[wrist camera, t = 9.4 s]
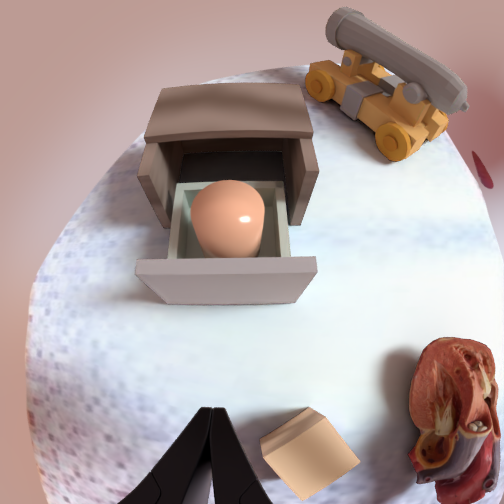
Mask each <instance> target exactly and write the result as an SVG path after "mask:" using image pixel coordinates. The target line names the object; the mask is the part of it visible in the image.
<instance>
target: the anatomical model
mask: <svg viewBox="0 0 504 504" xmlns="http://www.w3.org/2000/svg"><path fill="white" fill-rule="evenodd" d="M494 377H495V363H494V358H493V355H492V353H491V350H490V349H489V348H488V347H487V346H486V345H485V344H483V343H480V342H477V341H474V340H471V339H461V338H456V337H443V338H438V339H436V340H434V341H432V342H431V343H430V344H428V345H427V346H426V347H425V348H424V350H423V352H422V354H421V356H420V358H419V361H418V363H417V366H416V370H415V372H414V375H413V378H412V381H411V387H410V392H409V411H410V416H411V418H412V420H413V422H414V424H415V425H416V426H417V427H418V428H419V429H420V433H421V435H420V437H419V438H418V441H417V443H416V445H415V447H414V448H413V449H412V450H411V451H410V452H409V453H408V456H409V458H410V460H411V462H412V464H413V467H414V470H415V471H416V472H417V481H416V483H417V484H425V483H429V482H433V481H435V483H436V484H435V489H436V493H437V500H438V501H439V502H440V503H441V504H471V503H474V502H476V501H478V500H480V499H482V498H483V497H484V496H485V493H486V492H491V491H492V490H494V489H495V488H496V486H497V480H498V476H499V470H500V438H501V433H500V427H499V421H498V417H497V412H496V405H497V399H498V385H497V383H496V381H495V378H494Z"/></svg>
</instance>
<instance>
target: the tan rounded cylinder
mask: <svg viewBox="0 0 504 504" xmlns="http://www.w3.org/2000/svg"><path fill="white" fill-rule="evenodd" d="M264 213H265V208H264V203H263V200H262V198H261V196H260V194H259V193H258V192H257V191H256V190H255V189H254V188H253V187H251V186H250V185H248V184H246V183H243V182H240V181H236V180H222V181H218V182H214V183H212V184H210V185H208V186H206V187H205V188H203V189H202V190H201V191H200V192H199V193H198V194H197V195H196V197H195V198H194V200H193V202H192V205H191V210H190V215H191V220H192V224H193V226H194V229H195V232H196V235H197V238H198V241H199V244H200V247H201V249H202V252H203V255H204V257H205V258H258V256H259V253H260V247H261V239H262V230H263V222H264Z"/></svg>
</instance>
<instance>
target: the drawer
mask: <svg viewBox="0 0 504 504" xmlns="http://www.w3.org/2000/svg"><path fill="white" fill-rule="evenodd" d="M240 182H243V183H246V184H248V185H250V186H251V187H253V188H254V189H255V190H256V191H257V192H258V193H259V194H260V196H261V198H262V200H263V203H264V208H265V213H264V222H263V230H262V239H261V247H260V253H259V256H258V258H205V257H204V255H203V252H202V249H201V247H200V244H199V241H198V238H197V235H196V232H195V229H194V226H193V224H192V220H191V215H190V210H191V205H192V202H193V200H194V198H195V197H196V195H197V194H198V193H199V192H200V191H201V190H202V189H203V188H205V187H206V186H208V185H210V184H212V183H214V182H195V183H177V185H176V192H175V199H174V206H173V213H172V221H171V229H170V238H169V247H168V257H167V259H137V261H136V269H135V275H136V276H137V277H138V278H139V279H140V280H141V281H143V282H144V283H145V284H146V285H147V286H148V287H149V288H150V289H151V290H153V291H154V292H155V293H156V294H157V295H158V296H159V297H161V298H162V299H163V300H164V301H165V302H166V303H168V304H182V305H237V304H278V303H295V302H296V301H297V299H298V298H299V297H300V295H301V294H302V293H303V291H304V290H305V289H306V287H307V286H308V285H309V283H310V282H311V280H312V279H313V278H314V276H315V275H316V274H317V263H316V256H312V257H291V253H290V242H289V231H288V221H287V212H286V202H285V193H284V184H283V181H240Z"/></svg>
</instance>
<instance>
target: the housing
mask: <svg viewBox="0 0 504 504" xmlns="http://www.w3.org/2000/svg"><path fill="white" fill-rule="evenodd" d="M312 136H313V128H312V125H311V121H310V118H309V114H308V111H307V107H306V104H305V101H304V97H303V94H302V91H301V88H300V85H297V84H281V83H217V84H201V85H190V86H180V87H172V88H164V89H162V90H161V92H160V95H159V97H158V100H157V102H156V105H155V107H154V110H153V113H152V115H151V118H150V121H149V123H148V126H147V129H146V132H145V135H144V139H145V142H146V146H145V149H144V153H143V156H142V160H141V163H140V167H139V170H138V174H137V177H138V179H139V181H140V183H141V185H142V187H143V189H144V191H145V193H146V195H147V197H148V199H149V201H150V203H151V205H152V207H153V209H154V211H155V213H156V215H157V217H158V219H159V221H160V223H161V224H162V226H163V228H171V221H172V213H173V206H174V199H175V192H176V185H177V183H179V179H180V173H181V167H182V161H183V155H184V154H187V153H204V152H229V151H282V158H283V166H284V174H285V182H286V190H287V199H288V207H289V216H290V225H301V222H302V220H303V217H304V214H305V211H306V208H307V206H308V203H309V200H310V197H311V194H312V191H313V188H314V186H315V183H316V180H317V177H318V174H319V168H318V163H317V159H316V155H315V150H314V146H313V142H312Z"/></svg>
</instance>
